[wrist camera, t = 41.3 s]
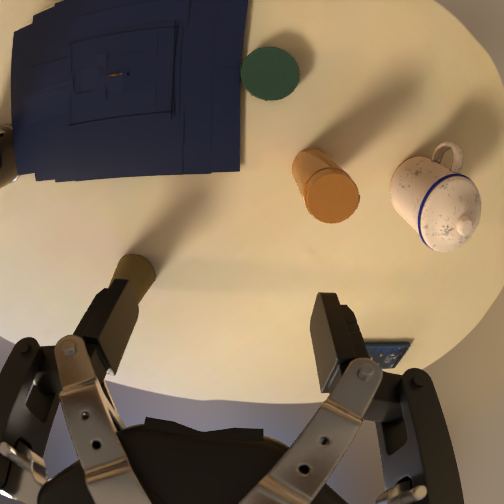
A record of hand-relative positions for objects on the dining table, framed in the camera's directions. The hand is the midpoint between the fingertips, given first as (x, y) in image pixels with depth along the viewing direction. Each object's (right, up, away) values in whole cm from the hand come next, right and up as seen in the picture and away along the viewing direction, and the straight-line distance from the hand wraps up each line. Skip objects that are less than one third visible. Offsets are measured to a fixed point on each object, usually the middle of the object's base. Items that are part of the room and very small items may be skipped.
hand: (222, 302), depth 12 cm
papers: (-14, +22, +14) cm, 30 cm away
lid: (+3, +20, +13) cm, 24 cm away
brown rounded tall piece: (-16, -1, +28) cm, 32 cm away
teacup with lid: (+23, +12, +20) cm, 32 cm away
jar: (+8, +12, +20) cm, 24 cm away
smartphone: (+24, -17, +37) cm, 48 cm away
